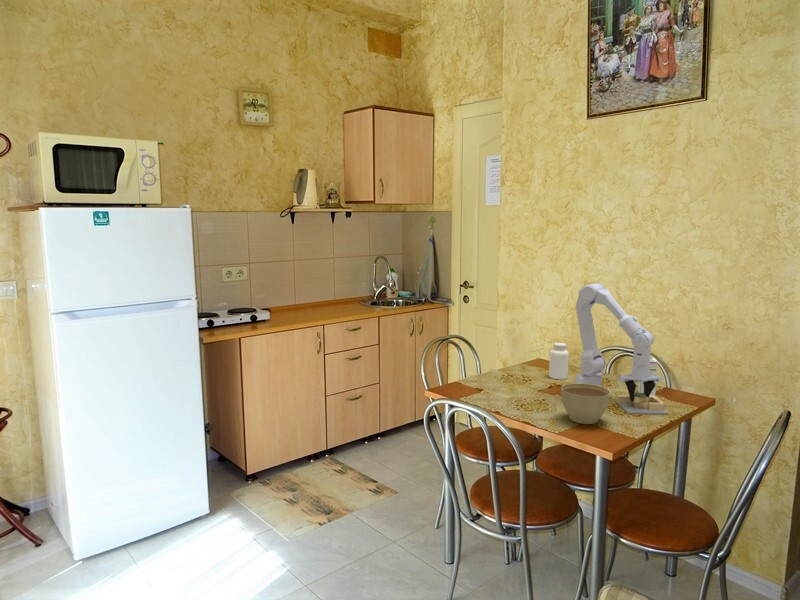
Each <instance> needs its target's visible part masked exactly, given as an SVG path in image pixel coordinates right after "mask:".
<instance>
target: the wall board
mask: <svg viewBox="0 0 800 600" xmlns="http://www.w3.org/2000/svg"><path fill="white" fill-rule="evenodd" d="M616 404H617V405H618V406H619V407H620V408H622V409H623V410H624V411H625V412H626V413H627V414H628V415H669V412H668V411H667V410H666V409H665V402H664V401H663V400H661V399H660V398H659V397H657V396H656V395H655V396H654V395H650V396H649V401H648V409H635V408H634V407H633V406H632V405H631V400H630V396H629V394H616Z"/></svg>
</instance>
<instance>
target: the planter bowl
mask: <svg viewBox="0 0 800 600" xmlns="http://www.w3.org/2000/svg"><path fill="white" fill-rule="evenodd" d="M560 391H561V401H562V405H563V408H564V410H565V411H566V412H567V414H568V417H569V420H571V421H572V422H575V423H578V424H583V425H593V424H597V423H598V422H599V419H600V418H601V417H602V416H603V415H604V414H605V412H606V410H607V409H608V406H609V403H610V397H611V391H610V389H608V388H607V387H603V386H602V387H601V386H598V385H592V384H583V383H576V382H574V383H573V382H572V383H566V384H564V385H562V386H561V387H560Z"/></svg>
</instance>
